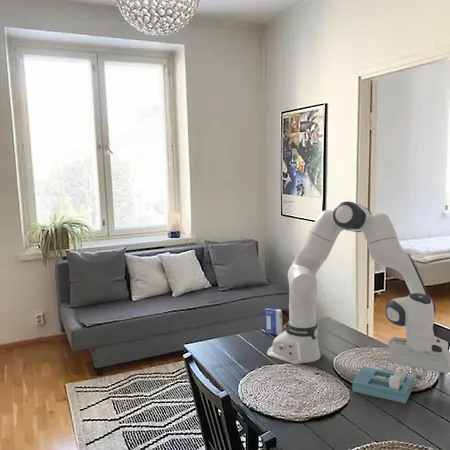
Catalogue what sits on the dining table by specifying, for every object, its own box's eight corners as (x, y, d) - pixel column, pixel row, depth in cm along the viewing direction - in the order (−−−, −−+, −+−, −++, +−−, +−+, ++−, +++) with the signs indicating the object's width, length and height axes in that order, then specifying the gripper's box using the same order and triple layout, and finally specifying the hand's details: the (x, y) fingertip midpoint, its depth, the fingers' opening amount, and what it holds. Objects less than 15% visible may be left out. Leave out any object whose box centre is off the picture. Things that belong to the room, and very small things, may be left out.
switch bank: (352, 391, 163) (352, 381, 163) (363, 375, 175) (363, 366, 174) (405, 403, 153) (405, 393, 153) (414, 385, 165) (414, 376, 165)
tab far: (394, 382, 164) (394, 369, 163) (396, 379, 166) (396, 365, 165) (403, 384, 162) (403, 370, 161) (405, 381, 165) (405, 367, 164)
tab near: (389, 391, 158) (389, 377, 157) (391, 387, 160) (391, 373, 160) (398, 393, 156) (398, 378, 156) (400, 389, 159) (400, 375, 158)
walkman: (264, 333, 222) (264, 309, 220) (267, 331, 224) (266, 307, 223) (280, 335, 218) (279, 310, 217) (282, 333, 221) (281, 308, 219)
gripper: (386, 339, 161) (386, 376, 163) (450, 349, 150) (449, 389, 152) (390, 333, 167) (390, 369, 169) (453, 343, 156) (452, 381, 158)
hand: (419, 379), depth 160 cm, fingers closed
